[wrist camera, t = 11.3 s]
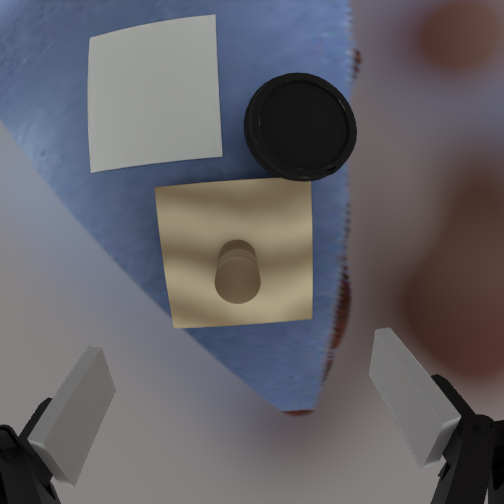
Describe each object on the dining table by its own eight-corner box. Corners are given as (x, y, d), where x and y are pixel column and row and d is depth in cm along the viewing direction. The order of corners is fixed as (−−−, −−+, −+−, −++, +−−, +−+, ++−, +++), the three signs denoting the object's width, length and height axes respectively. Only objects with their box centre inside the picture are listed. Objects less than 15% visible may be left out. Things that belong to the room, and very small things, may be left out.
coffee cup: (264, 188, 36) (282, 205, 22) (227, 124, 34) (221, 97, 20) (327, 155, 35) (382, 152, 21) (292, 92, 33) (327, 49, 19)
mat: (91, 39, 30) (89, 38, 29) (215, 16, 30) (215, 14, 30) (92, 172, 34) (90, 172, 34) (222, 156, 35) (222, 156, 34)
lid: (157, 186, 31) (131, 194, 23) (308, 176, 31) (331, 180, 23) (175, 323, 35) (161, 364, 27) (309, 313, 35) (328, 353, 27)
